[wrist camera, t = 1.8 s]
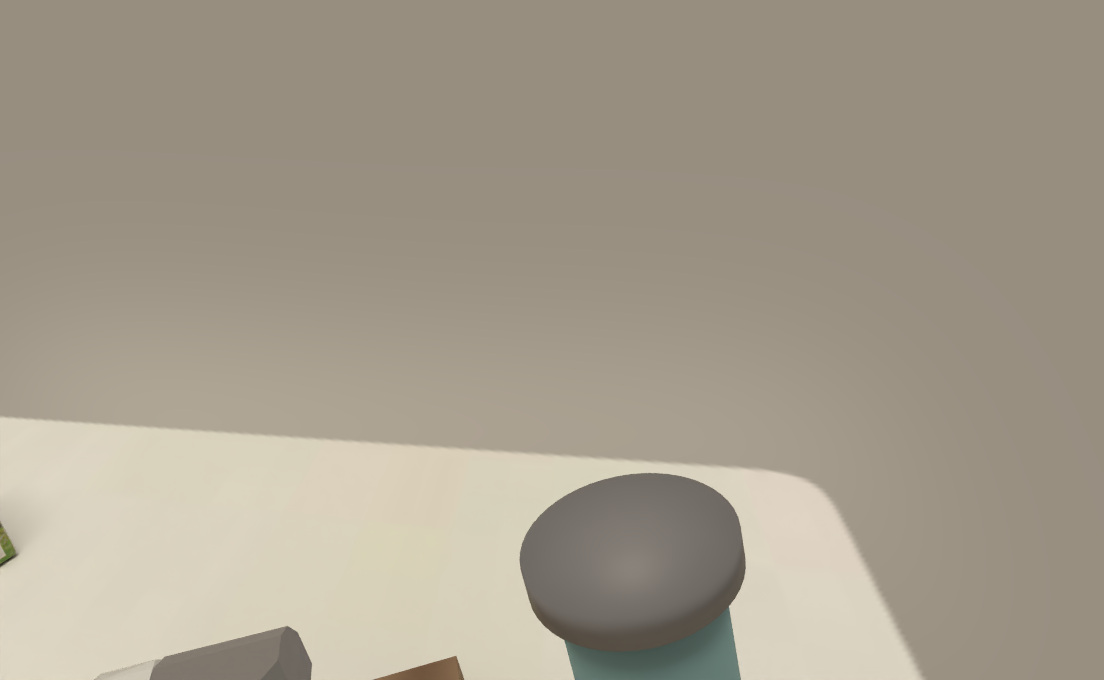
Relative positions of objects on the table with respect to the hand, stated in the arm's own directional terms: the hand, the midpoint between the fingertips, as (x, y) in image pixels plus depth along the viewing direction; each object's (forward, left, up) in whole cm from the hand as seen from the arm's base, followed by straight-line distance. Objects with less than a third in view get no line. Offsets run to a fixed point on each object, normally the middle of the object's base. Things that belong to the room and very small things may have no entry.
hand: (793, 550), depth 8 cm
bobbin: (0, +14, -22) cm, 26 cm away
